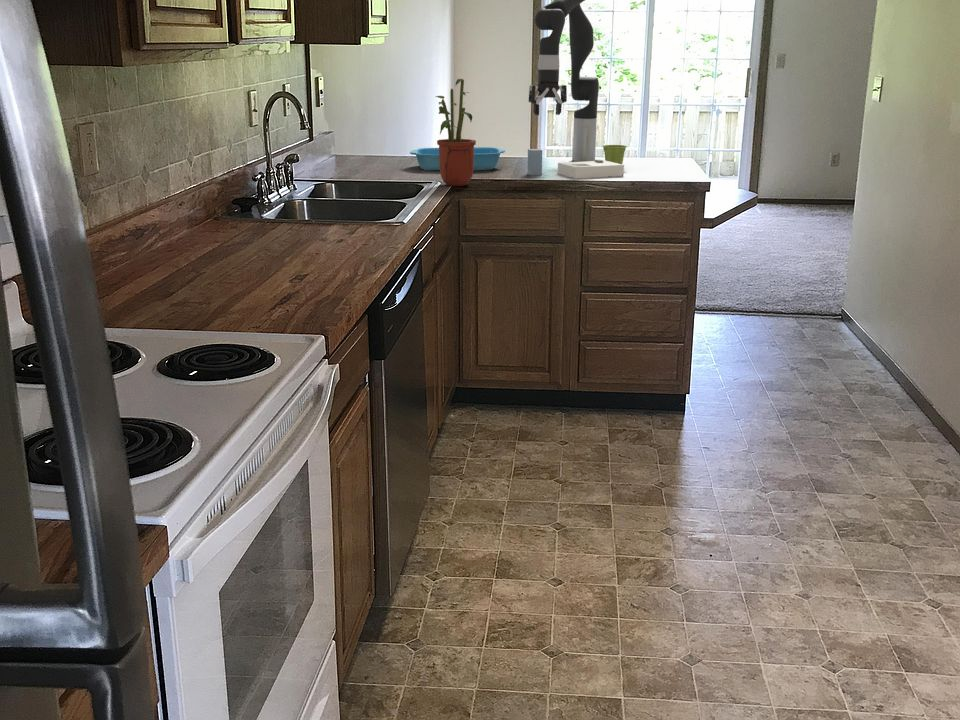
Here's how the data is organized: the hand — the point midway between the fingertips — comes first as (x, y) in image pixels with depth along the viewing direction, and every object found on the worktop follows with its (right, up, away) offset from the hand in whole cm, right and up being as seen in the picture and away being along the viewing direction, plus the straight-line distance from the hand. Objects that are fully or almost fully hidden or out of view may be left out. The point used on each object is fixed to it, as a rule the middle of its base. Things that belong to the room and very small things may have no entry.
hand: (547, 115), depth 350 cm
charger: (-4, -20, +7) cm, 22 cm away
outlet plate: (+16, -20, +7) cm, 27 cm away
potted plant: (-35, -29, -20) cm, 49 cm away
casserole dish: (-33, -15, +25) cm, 44 cm away
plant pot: (+27, -15, +24) cm, 40 cm away
